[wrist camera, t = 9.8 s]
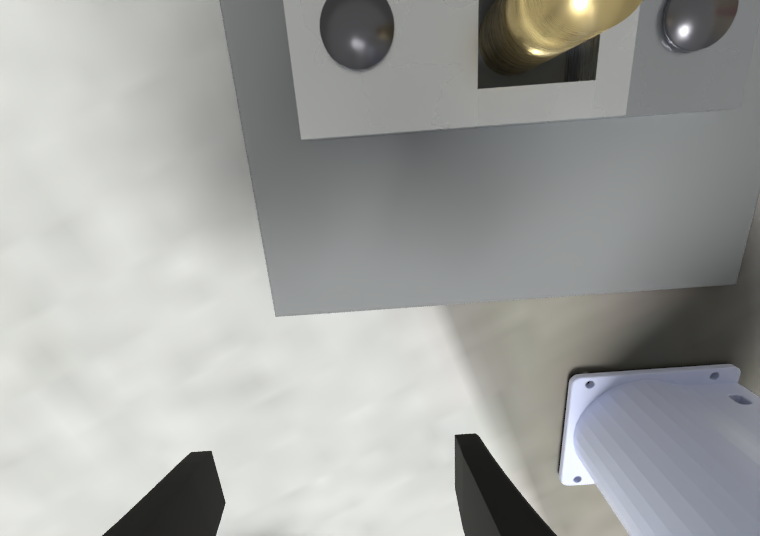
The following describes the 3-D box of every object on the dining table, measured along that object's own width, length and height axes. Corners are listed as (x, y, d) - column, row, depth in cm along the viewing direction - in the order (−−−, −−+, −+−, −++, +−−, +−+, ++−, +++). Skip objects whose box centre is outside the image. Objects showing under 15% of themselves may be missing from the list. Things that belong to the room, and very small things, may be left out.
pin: (552, -11, 14) (668, -115, 9) (547, 72, 15) (649, 26, 10) (478, -4, 14) (546, -104, 9) (478, 78, 15) (538, 36, 10)
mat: (836, -168, 13) (854, -180, 13) (727, 281, 19) (736, 284, 19) (203, -116, 14) (197, -126, 13) (278, 312, 19) (275, 316, 19)
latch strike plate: (753, -86, 14) (840, -141, 11) (713, 111, 16) (778, 103, 13) (288, -49, 14) (269, -94, 11) (311, 140, 16) (299, 139, 14)
